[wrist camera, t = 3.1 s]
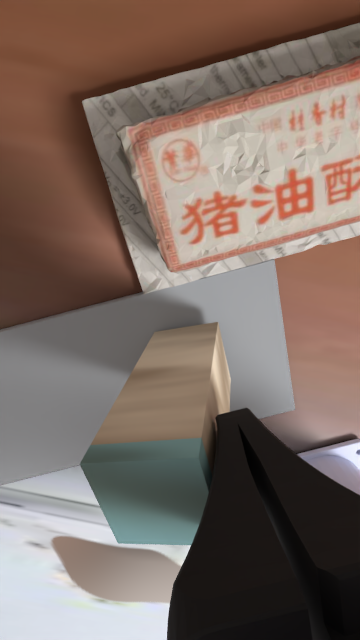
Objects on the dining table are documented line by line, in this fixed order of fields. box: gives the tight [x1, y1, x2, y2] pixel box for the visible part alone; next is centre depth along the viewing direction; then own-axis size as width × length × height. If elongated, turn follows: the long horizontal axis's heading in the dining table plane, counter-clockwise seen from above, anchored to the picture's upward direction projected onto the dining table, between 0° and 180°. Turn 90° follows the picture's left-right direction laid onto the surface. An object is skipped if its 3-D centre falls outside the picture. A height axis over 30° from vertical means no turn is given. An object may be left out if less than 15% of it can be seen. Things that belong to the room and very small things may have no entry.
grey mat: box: [0, 259, 295, 485], centre depth 20 cm, size 11×22×1 cm, turn 104°
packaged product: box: [82, 23, 360, 294], centre depth 15 cm, size 18×5×10 cm
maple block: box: [80, 322, 231, 545], centre depth 15 cm, size 4×4×10 cm
